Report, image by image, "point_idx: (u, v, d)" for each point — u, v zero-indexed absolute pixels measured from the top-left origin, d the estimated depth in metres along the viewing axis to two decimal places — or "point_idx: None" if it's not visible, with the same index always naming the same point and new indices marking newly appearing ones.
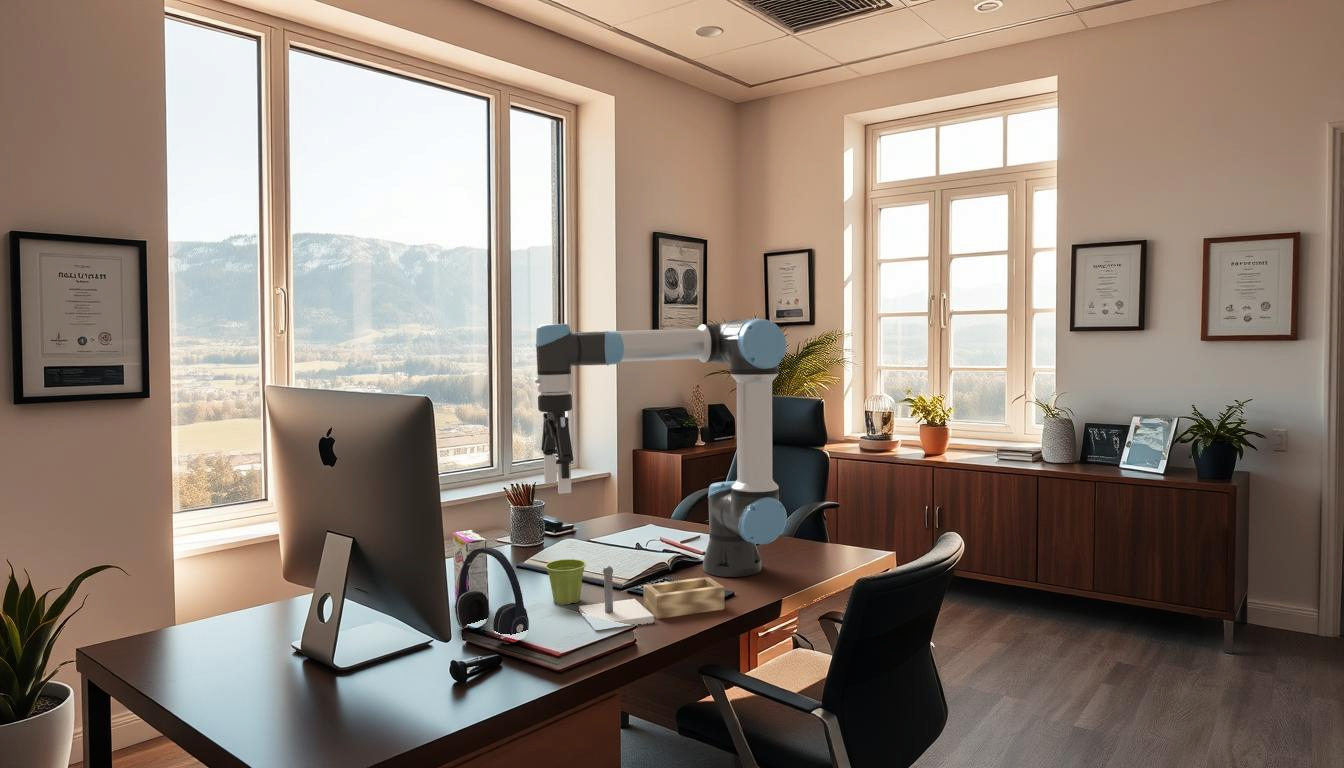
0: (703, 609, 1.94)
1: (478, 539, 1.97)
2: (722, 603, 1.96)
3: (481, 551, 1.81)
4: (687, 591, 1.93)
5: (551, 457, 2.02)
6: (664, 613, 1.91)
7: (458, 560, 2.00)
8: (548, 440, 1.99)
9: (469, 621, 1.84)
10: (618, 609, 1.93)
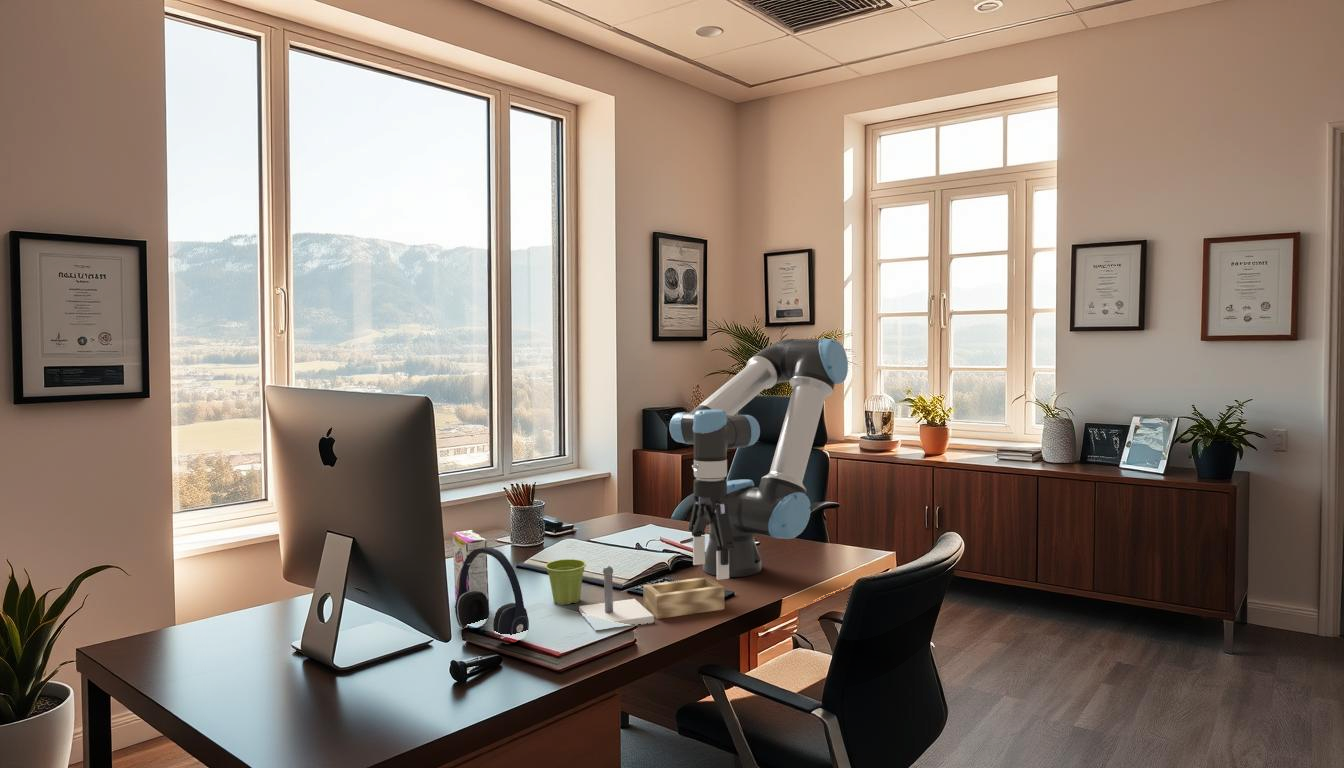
0: (703, 609, 1.94)
1: (478, 539, 1.97)
2: (722, 603, 1.96)
3: (481, 551, 1.81)
4: (687, 591, 1.93)
5: (700, 539, 2.05)
6: (664, 613, 1.91)
7: (458, 560, 2.00)
8: (700, 522, 2.02)
9: (469, 621, 1.84)
10: (618, 609, 1.93)
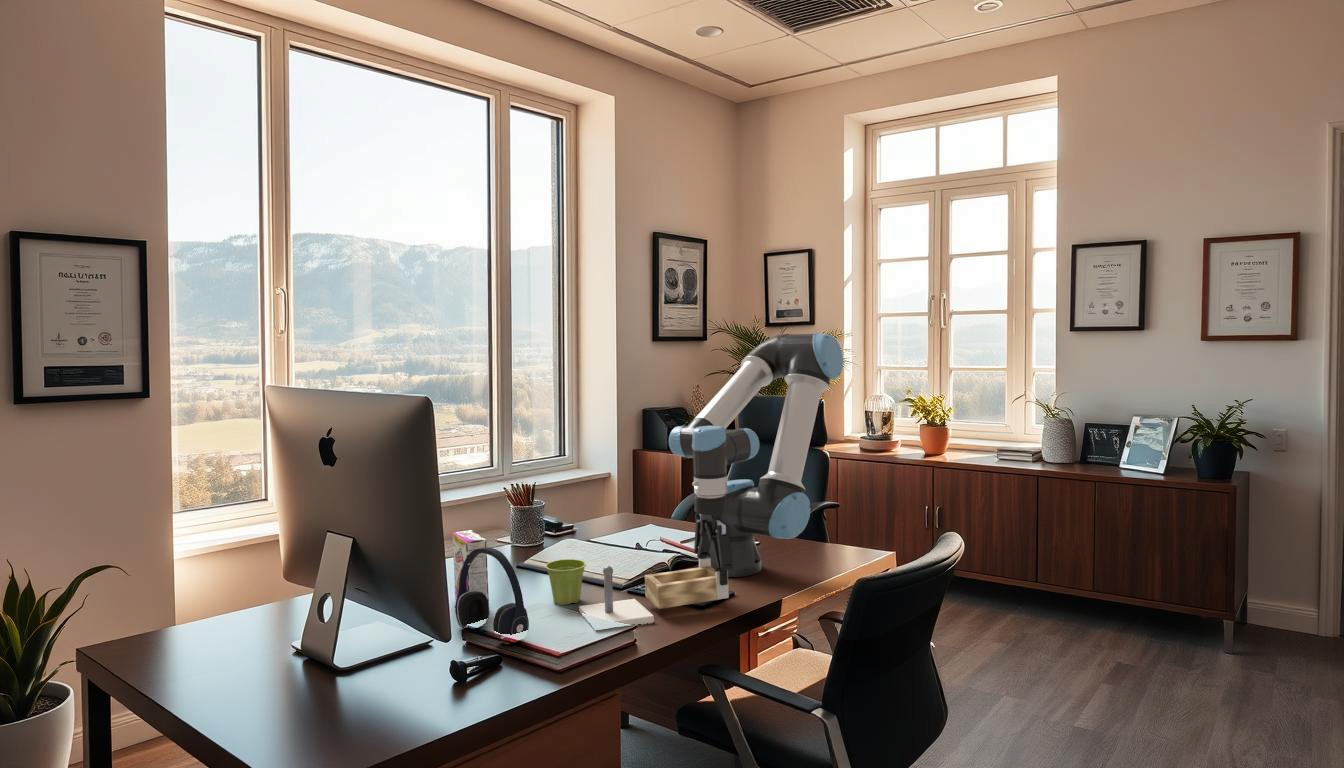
0: (704, 598, 1.94)
1: (478, 539, 1.97)
2: None
3: (481, 551, 1.81)
4: (688, 581, 1.93)
5: (706, 561, 2.04)
6: (665, 603, 1.91)
7: (458, 560, 2.00)
8: (703, 541, 2.02)
9: (469, 621, 1.84)
10: (618, 609, 1.93)
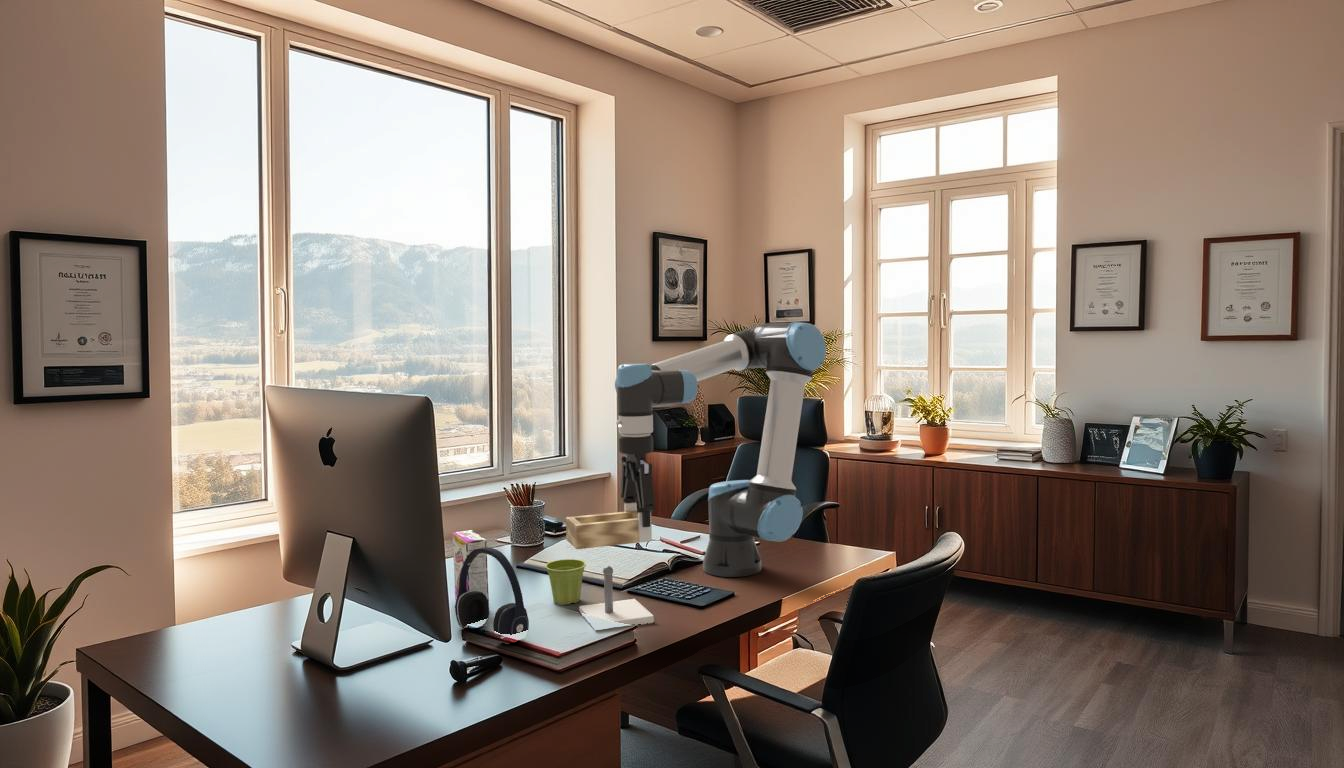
0: (626, 541, 1.87)
1: (478, 539, 1.97)
2: None
3: (481, 551, 1.81)
4: (609, 522, 1.86)
5: (632, 505, 1.96)
6: (584, 544, 1.83)
7: (458, 560, 2.00)
8: (629, 484, 1.94)
9: (469, 621, 1.84)
10: (618, 609, 1.93)
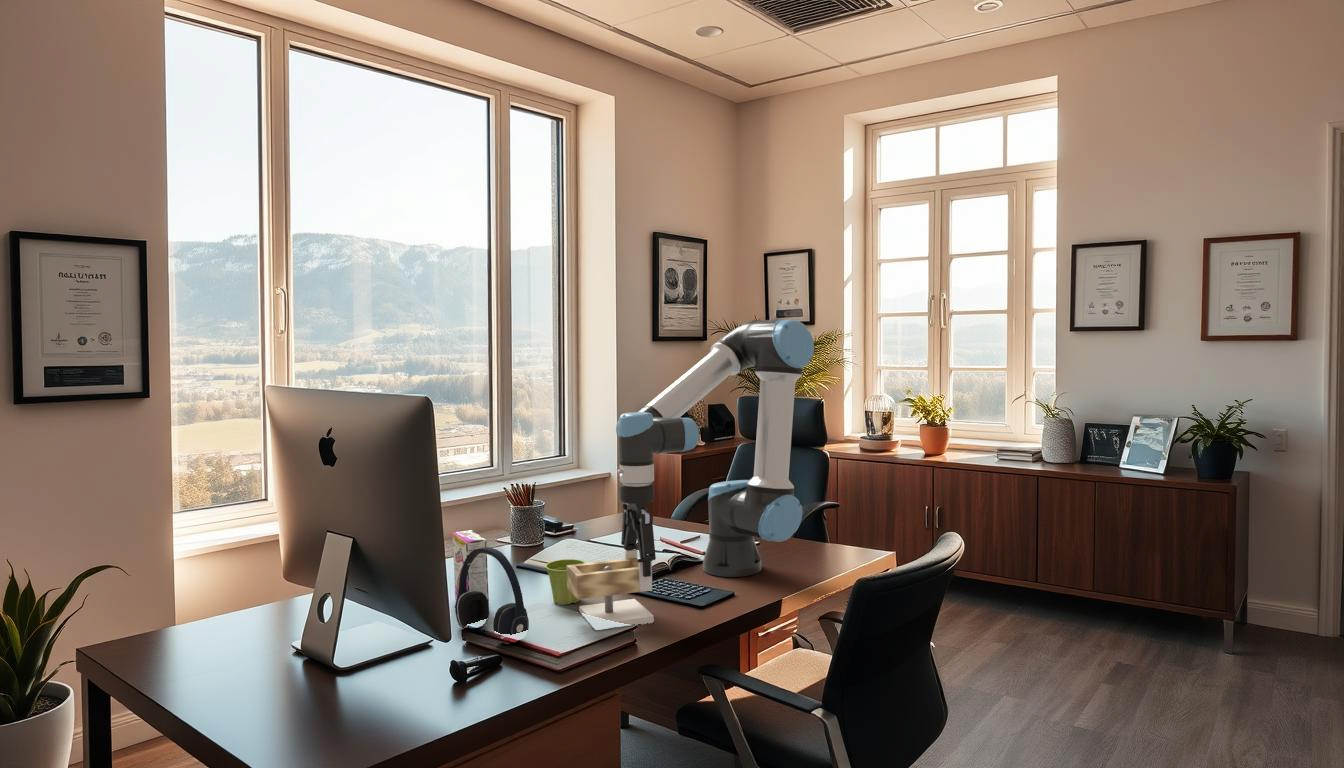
0: (626, 590, 1.87)
1: (478, 539, 1.97)
2: None
3: (481, 551, 1.81)
4: (610, 571, 1.86)
5: (632, 553, 1.97)
6: (584, 594, 1.84)
7: (458, 560, 2.00)
8: (629, 532, 1.95)
9: (469, 621, 1.84)
10: (618, 609, 1.93)
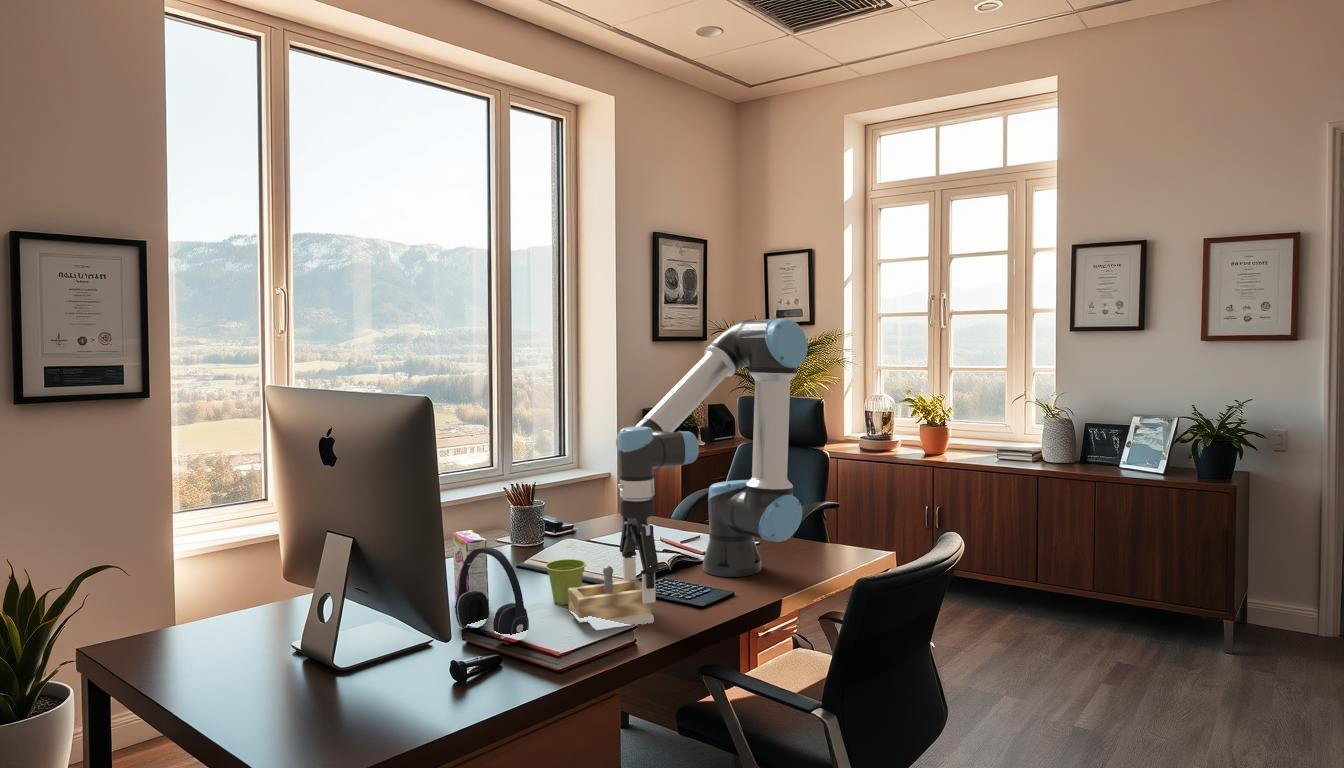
0: (628, 613, 1.88)
1: (478, 539, 1.97)
2: (649, 607, 1.89)
3: (481, 551, 1.81)
4: (611, 594, 1.87)
5: (630, 560, 1.99)
6: None
7: (458, 560, 2.00)
8: (629, 543, 1.96)
9: (469, 621, 1.84)
10: None
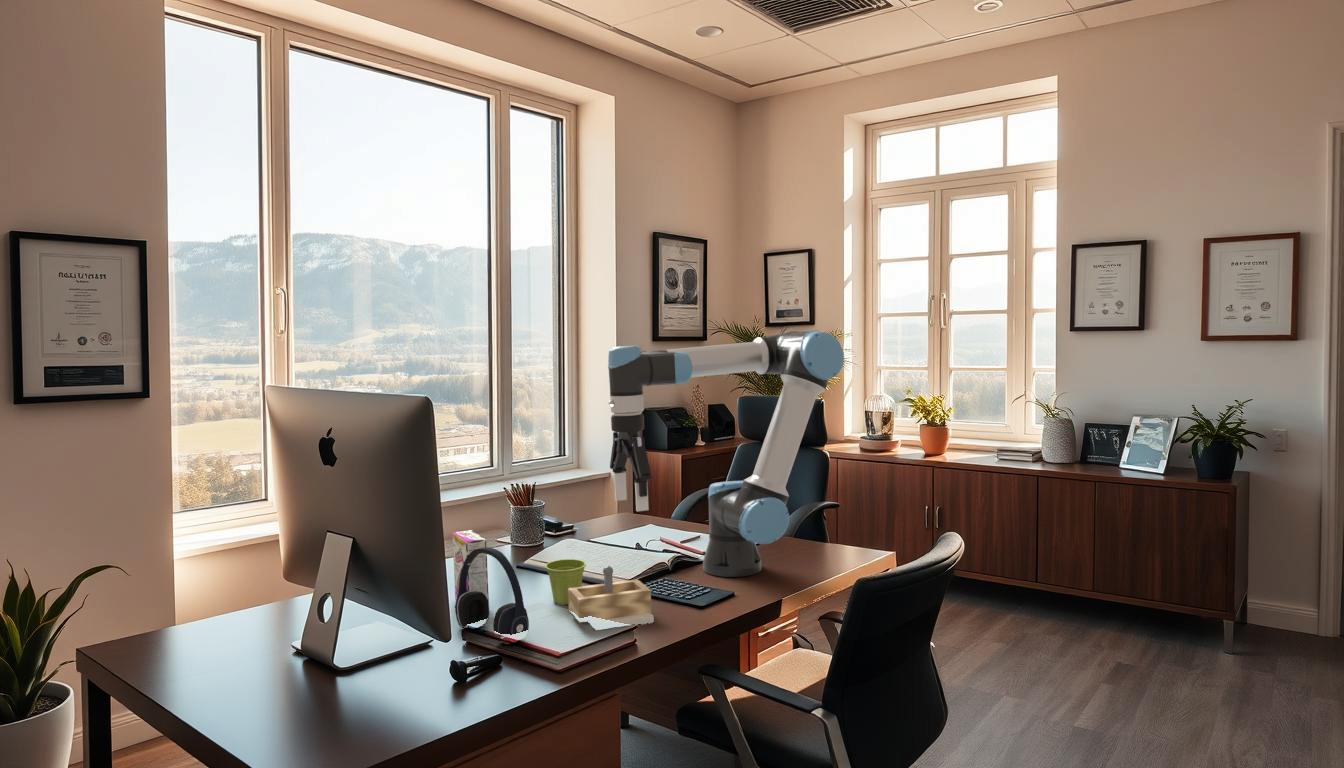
0: (628, 613, 1.88)
1: (478, 539, 1.97)
2: (649, 607, 1.89)
3: (481, 551, 1.81)
4: (611, 594, 1.87)
5: (621, 475, 2.07)
6: None
7: (458, 560, 2.00)
8: (619, 458, 2.05)
9: (469, 621, 1.84)
10: None
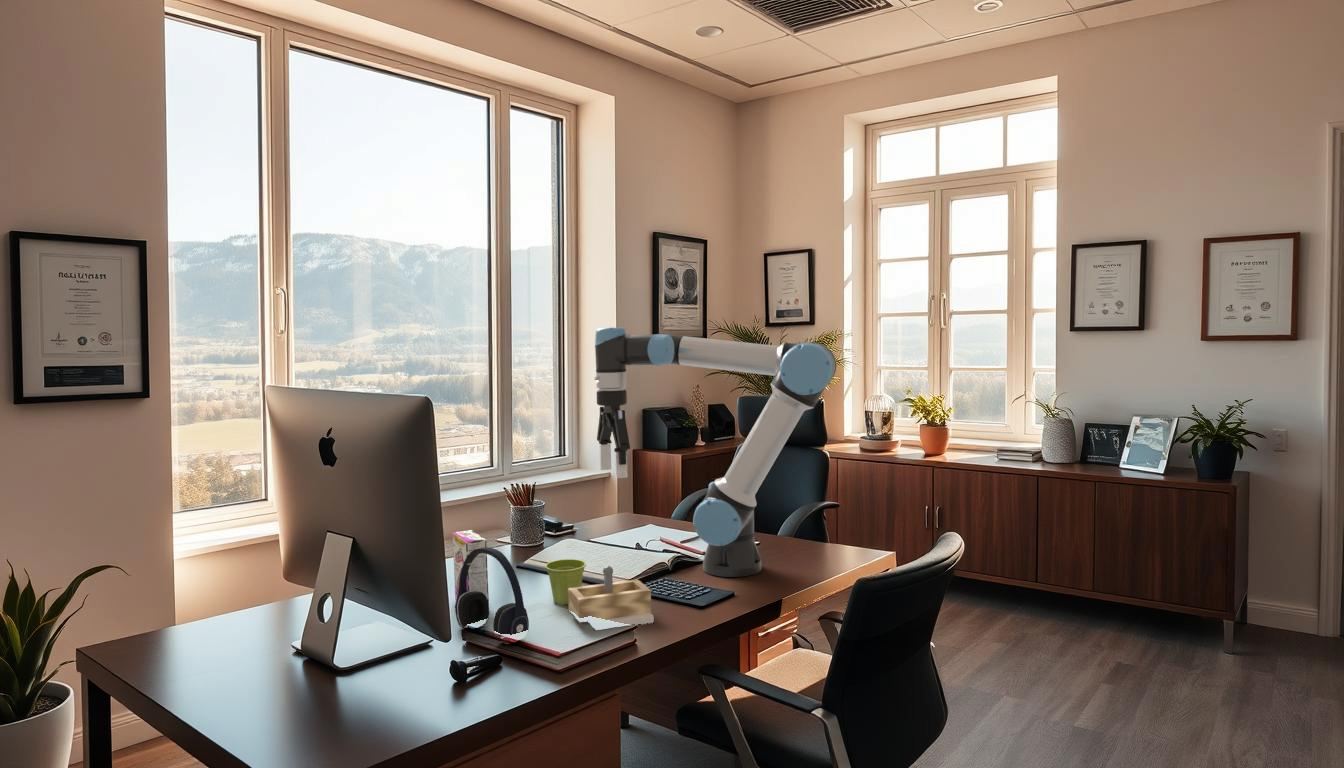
0: (628, 613, 1.88)
1: (478, 539, 1.97)
2: (649, 607, 1.89)
3: (481, 551, 1.81)
4: (611, 594, 1.87)
5: (606, 446, 2.26)
6: None
7: (458, 560, 2.00)
8: (604, 430, 2.23)
9: (469, 621, 1.84)
10: None
